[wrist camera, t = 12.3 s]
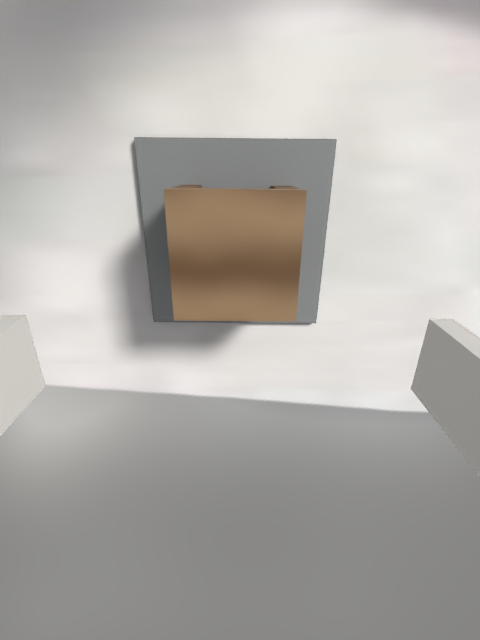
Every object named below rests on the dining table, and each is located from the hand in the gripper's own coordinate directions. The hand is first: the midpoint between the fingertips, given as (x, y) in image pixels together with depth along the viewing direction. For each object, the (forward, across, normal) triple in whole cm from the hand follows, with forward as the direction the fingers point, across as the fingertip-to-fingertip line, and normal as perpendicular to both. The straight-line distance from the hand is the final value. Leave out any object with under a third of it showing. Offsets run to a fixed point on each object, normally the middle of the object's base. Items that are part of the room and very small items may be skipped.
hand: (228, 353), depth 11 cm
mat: (+21, 0, 0) cm, 21 cm away
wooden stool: (+20, 0, 0) cm, 20 cm away
